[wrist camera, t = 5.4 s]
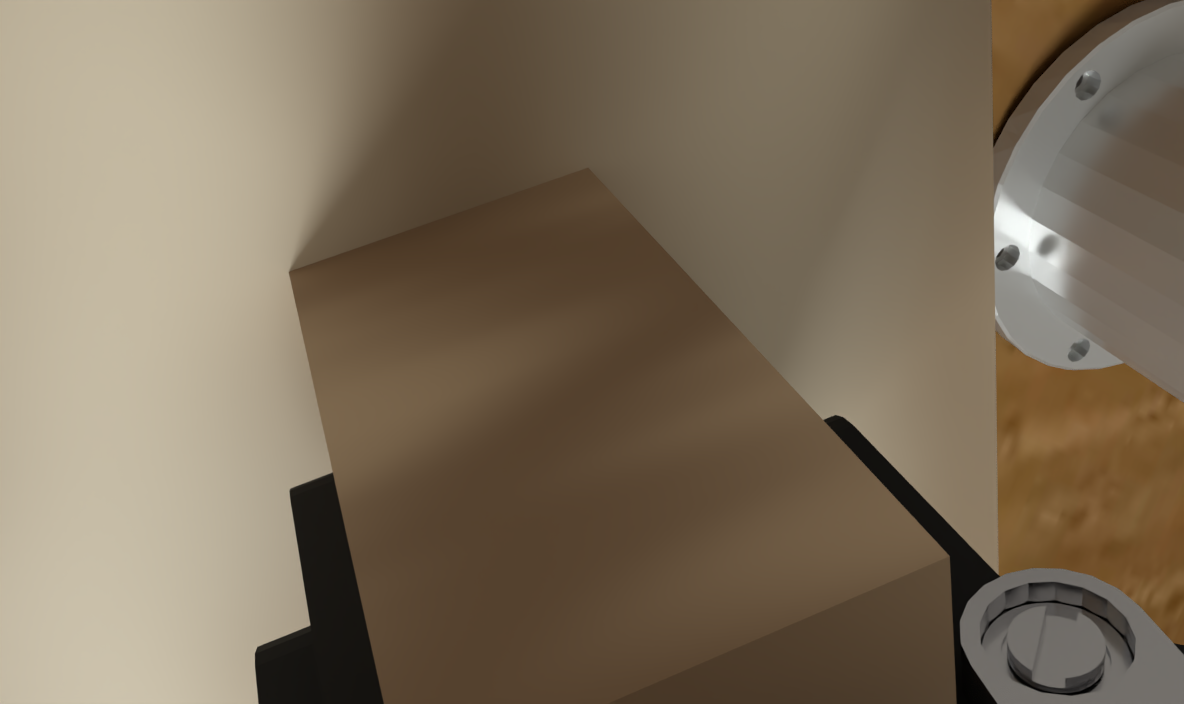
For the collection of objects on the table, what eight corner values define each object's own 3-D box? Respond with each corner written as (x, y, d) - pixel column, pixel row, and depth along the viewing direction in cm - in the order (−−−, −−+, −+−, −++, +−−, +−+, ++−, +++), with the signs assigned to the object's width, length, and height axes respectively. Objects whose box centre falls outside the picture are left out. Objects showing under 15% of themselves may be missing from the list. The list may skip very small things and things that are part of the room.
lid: (923, -302, 11) (1828, -317, 5) (959, 573, 17) (1359, 1006, 11) (-415, 87, 9) (-1541, 819, 3) (202, 902, 15) (225, 1617, 10)
